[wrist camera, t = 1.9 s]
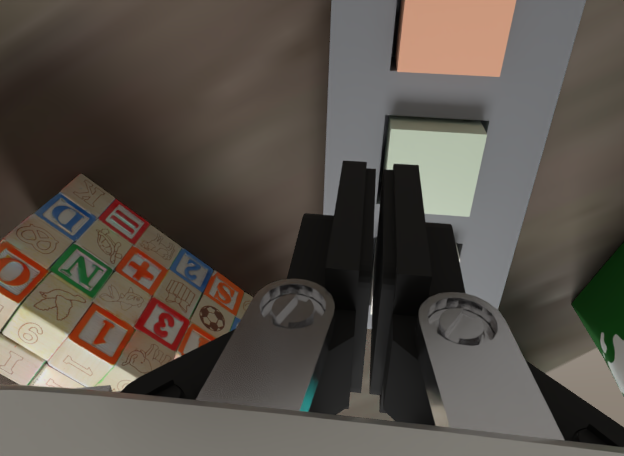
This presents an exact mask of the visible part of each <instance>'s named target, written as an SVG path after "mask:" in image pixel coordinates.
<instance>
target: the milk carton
mask: <svg viewBox="0 0 624 456" xmlns="http://www.w3.org/2000/svg"><path fill="white" fill-rule="evenodd" d="M571 305H572V306H573V308H574V310H575V311H576V313H577V315H578V316H579V318H580V320H581V321H582V323H583V325H584V326H585V328H586V330H587V331H588V333H589V335H590V336H591V338H592V339H593V341H594V343H595V344H596V346H597V348H598V349H599V351H600V353H601V354H602V356H603V358H604V359H605V361H606V363H607V365H608V367H609V369H610V371H611V373H612V375H613V377H614V379H615V381H616V383H617V385H618V387H619V389H620V390H621V392H622V394H623V397H624V242H623V243H622V244H621V246H620V247H619V248H618V249H617V250H616V252H615V253H614V254H613V255H612V256H611V257H610V259H609V260H608V261H607V262H606V263H605V265H604V266H603V267H602V268H601V269H600V270H599V272H598V273H597V274H596V275H595V276H594V278H593V279H592V280H591V281H590V282H589V283H588V285H587V286H586V287H585V288H584V289H583V291H582V292H581V293H580V294H579V295H578V296H577V298H576V299H575V300H574V301H573V302H572V304H571Z"/></svg>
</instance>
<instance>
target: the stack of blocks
mask: <svg viewBox="0 0 624 456" xmlns="http://www.w3.org/2000/svg"><path fill="white" fill-rule="evenodd" d="M252 299H253V297H252V296H250V295H249V294H247V293H245V292H244V291H243V290H242V289H240V288H239V287H238V286H237V285H235V284H234V283H232V282H231V281H230V280H228V279H227V278H226V277H224V276H223V275H221V274H220V273H219V272H217V271H215V270H213V269H212V268H211V267H209V266H208V265H206V264H205V263H204V262H202V261H201V260H199V259H198V258H197V257H195V256H194V255H192V254H191V253H190V252H188V251H187V250H186V249H183V248H182V247H181V246H180V245H178V244H177V243H175V242H174V241H173V240H171V239H170V238H168V237H167V236H166V235H164V234H163V233H161V232H160V231H159V230H157V229H156V228H154V227H153V226H151V225H150V223H149V222H147V221H146V220H145V219H143V218H142V217H141V216H139V215H138V214H136V213H135V212H133V211H132V210H131V209H129V208H128V207H127V206H125V205H124V204H122V203H121V202H120V201H118V200H117V199H115V198H114V197H113V196H112V195H110V194H109V193H108V192H106V191H105V190H104V189H102V188H101V187H99V186H98V185H97V184H95V183H94V182H93V181H91V180H90V179H88V178H87V177H86V176H84V175H83V174H79V175H78V176H77V177H76V178H74V179H73V180H72V181H71V182H70V183H69V184H67V185H66V186H65V187H64V188H63V189H62V190H61V191H60V192H59V193H58V194H57V195H55V196H54V197H53V198H52V199H50V200H49V201H48V202H47V203H46V204H44V205H43V206H42V207H41V208H40V209H38V210H37V211H36V212H35V213H34V214H33V215H30V216H29V217H27V218H26V219H25V220H24V221H22V222H21V223H20V224H19V225H18V226H17V227H15V228H14V229H13V230H12V231H11V232H9V234H8V235H6V236H5V237H4V238H3V239H2V240H1V242H0V374H2V375H3V376H5V377H7V378H9V379H11V380H12V381H14V382H16V383H18V384H20V385H29V386H45V387H62V388H83V387H94V386H105V385H111V388H112V392H115V391H122V390H123V389H124V388H125V387H126V386H127V385H128V384H129V383H131V382H132V381H134V380H136V379H137V378H139V377H140V376H142V375H144V374H146V373H148V372H150V371H152V370H154V369H156V368H158V367H160V366H162V365H164V364H166V363H168V362H170V361H172V360H174V359H176V358H178V357H180V356H182V355H184V354H186V353H188V352H190V351H192V350H194V349H196V348H198V347H200V346H202V345H204V344H206V343H208V342H210V341H212V340H214V339H216V338H218V337H220V336H222V335H224V334H226V333H228V332H230V331H232V330H234V329H236V327H237V326H238V324H239V322H240V320H241V318H242V317H243V315H244V313H245V311H246V310H247V308H248V306H249V304H250V303H251V301H252Z"/></svg>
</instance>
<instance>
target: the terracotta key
mask: <svg viewBox="0 0 624 456" xmlns="http://www.w3.org/2000/svg"><path fill="white" fill-rule="evenodd" d="M515 5H516V0H401V7H400V17H399V26H398V35H397V45H396V54H395V59H396V67H397V72H411V73H431V74H450V75H470V76H490V77H500V74H501V69H502V64H503V60H504V55H505V51H506V46H507V41H508V37H509V32H510V28H511V23H512V18H513V14H514V9H515Z"/></svg>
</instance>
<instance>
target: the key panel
mask: <svg viewBox="0 0 624 456" xmlns="http://www.w3.org/2000/svg"><path fill="white" fill-rule="evenodd" d="M585 2H586V0H516V5H515V9H514V14H513V18H512V23H511V28H510V32H509V37H508V41H507V46H506V51H505V55H504V60H503V64H502V69H501V74H500V77H490V76H470V75H450V74H431V73H411V72H397V67H396V59H395V54H396V45H397V35H398V26H399V17H400V7H401V0H332V1H331V27H330V53H329V79H328V104H327V130H326V156H325V182H324V207H323V215H333V216H334V212H335V206H336V200H337V194H338V187H339V181H340V175H341V169H342V163H343V160H344V161H360V162H367V167H366V168H370V169H376V183H375V210H374V238H373V262H374V252H375V243H376V237H377V231H378V221H379V211H380V200H381V186H382V177H383V167H384V158H385V149H386V139H387V130H388V120H389V115H396V116H414V117H431V118H449V119H466V120H480V121H481V123H482V125H483V127H484V129H485V131H486V133H487V138H486V143H485V147H484V152H483V156H482V161H481V166H480V170H479V175H478V179H477V184H476V189H475V193H474V198H473V202H472V207H471V212H470V216H469V217H464V216H450V215H436V214H425V222H430V223H444V224H451V225H452V228H453V233H454V238H455V243H456V244H457V248H458V253H459V257H460V262H459V263H460V268H461V273H462V278H463V283H464V288H465V293H466V294H469V295H473V296H476V297H479V298H481V299H483V300H484V301H486V302H488V303H490V304H491V305H492V306H494V307H495V308H496V309H497V310H498V308H499V304H500V301H501V297H502V294H503V290H504V287H505V283H506V280H507V276H508V273H509V269H510V266H511V262H512V259H513V255H514V251H515V248H516V244H517V241H518V237H519V234H520V230H521V227H522V223H523V220H524V216H525V213H526V209H527V206H528V202H529V199H530V195H531V192H532V188H533V185H534V181H535V178H536V174H537V171H538V167H539V164H540V160H541V157H542V153H543V149H544V146H545V142H546V139H547V135H548V132H549V128H550V125H551V121H552V118H553V114H554V111H555V107H556V104H557V100H558V97H559V93H560V90H561V86H562V83H563V79H564V76H565V72H566V69H567V65H568V62H569V58H570V55H571V51H572V47H573V44H574V40H575V37H576V33H577V30H578V26H579V23H580V19H581V16H582V12H583V9H584V5H585ZM372 271H373V265H372ZM371 281H372V280H371ZM367 329H372V315H371V291H370V302H369V312H368V323H367Z"/></svg>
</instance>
